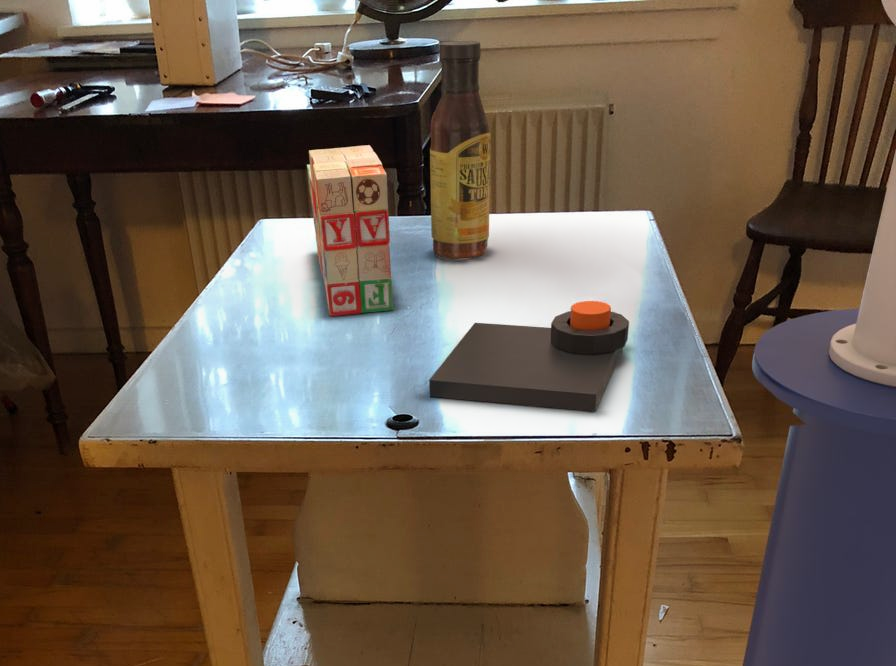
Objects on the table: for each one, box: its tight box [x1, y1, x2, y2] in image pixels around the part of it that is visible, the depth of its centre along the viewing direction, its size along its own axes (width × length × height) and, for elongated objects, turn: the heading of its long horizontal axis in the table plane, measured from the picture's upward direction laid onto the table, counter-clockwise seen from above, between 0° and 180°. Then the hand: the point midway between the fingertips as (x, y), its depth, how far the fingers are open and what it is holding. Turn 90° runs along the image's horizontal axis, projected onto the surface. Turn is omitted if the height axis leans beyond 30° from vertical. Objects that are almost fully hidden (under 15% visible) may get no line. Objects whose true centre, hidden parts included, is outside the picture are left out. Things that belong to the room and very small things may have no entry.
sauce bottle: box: [429, 40, 491, 261], centre depth 101 cm, size 6×6×20 cm
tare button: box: [570, 300, 612, 330], centre depth 79 cm, size 3×3×2 cm
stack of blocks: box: [306, 144, 394, 317], centre depth 97 cm, size 21×6×12 cm, turn 8°
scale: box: [428, 310, 630, 412], centre depth 79 cm, size 14×14×3 cm
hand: (454, 1), depth 93 cm, fingers open, 9 cm apart
